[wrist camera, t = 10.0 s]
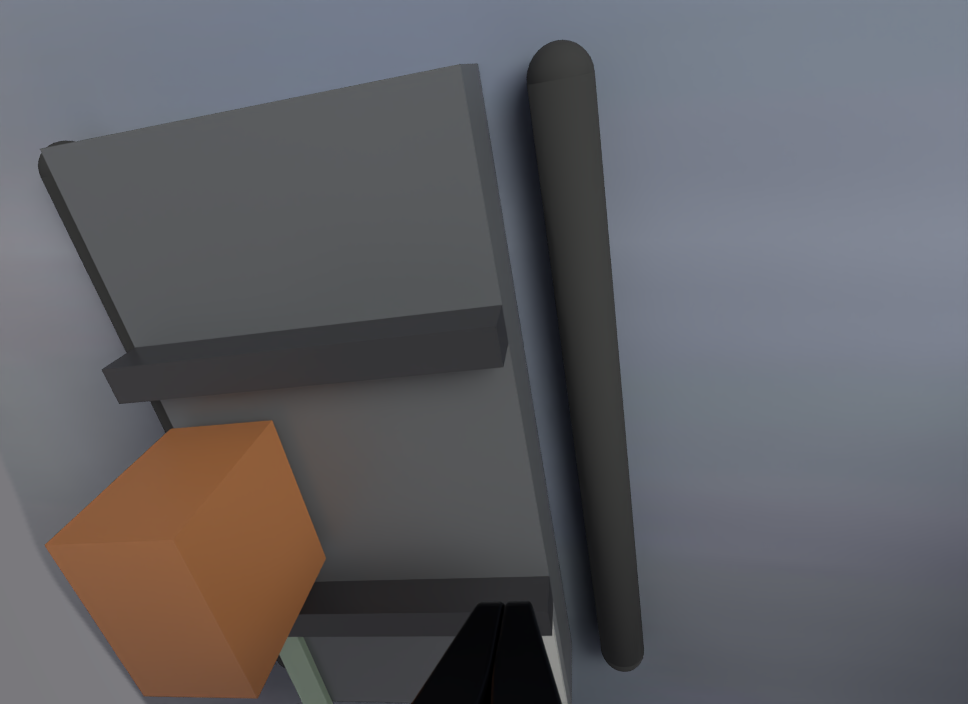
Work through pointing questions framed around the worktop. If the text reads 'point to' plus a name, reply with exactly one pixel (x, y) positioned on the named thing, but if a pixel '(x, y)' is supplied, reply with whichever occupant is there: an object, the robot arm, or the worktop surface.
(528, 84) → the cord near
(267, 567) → the orange block
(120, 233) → the panel
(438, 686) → the robot arm
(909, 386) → the worktop surface
